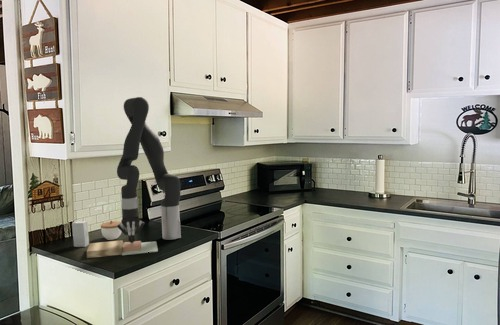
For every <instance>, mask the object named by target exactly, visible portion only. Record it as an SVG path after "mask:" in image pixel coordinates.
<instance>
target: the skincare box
mask: <svg viewBox="0 0 500 325" xmlns="http://www.w3.org/2000/svg"><path fill="white" fill-rule="evenodd" d="M71 227H72V228H71V229H72V238H73V247H75V248H82V247H83V248H86V247H89V244H90V236H89V227H88V221H87V220H84V221H83V220H82V221H77V220H75V221H74V222H72V223H71Z"/></svg>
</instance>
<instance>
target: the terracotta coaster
mask: <svg viewBox="0 0 500 325" xmlns="http://www.w3.org/2000/svg"><path fill="white" fill-rule="evenodd" d="M141 243H142V240H135V242H134V243H130V242H129V241H125V242H124V241H123V252H126V251H136V250H141Z"/></svg>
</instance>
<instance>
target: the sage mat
mask: <svg viewBox="0 0 500 325" xmlns="http://www.w3.org/2000/svg"><path fill="white" fill-rule="evenodd" d="M158 251H159V248H158V244H157V241H145V242H141V250H136V251H126V252H123V250H122V254H121V256H127V255H138V254H149V253H157V252H158ZM148 252H149V253H148Z"/></svg>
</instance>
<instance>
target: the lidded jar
mask: <svg viewBox="0 0 500 325" xmlns="http://www.w3.org/2000/svg"><path fill="white" fill-rule="evenodd" d="M120 223H121V221H117V220H115V221H113V220H110V221H106V222H103V223H101V224H100V231H101V234H102V236H103V238H104V239H106V241H107V240H109V241H115V240H116V239H119V237H120V236H121V234H122V233H123V232H122V231H121V230H120V229H119V228H118V227H117V225H118V224H120Z"/></svg>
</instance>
